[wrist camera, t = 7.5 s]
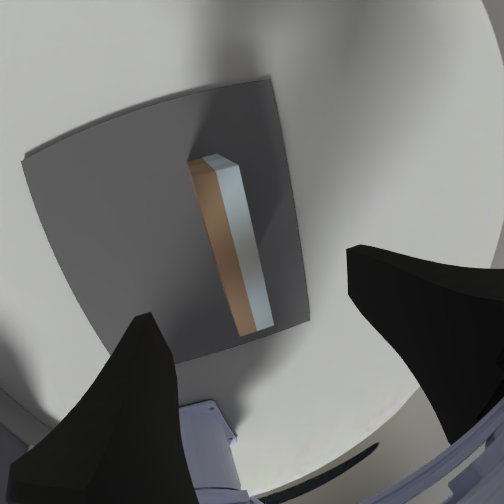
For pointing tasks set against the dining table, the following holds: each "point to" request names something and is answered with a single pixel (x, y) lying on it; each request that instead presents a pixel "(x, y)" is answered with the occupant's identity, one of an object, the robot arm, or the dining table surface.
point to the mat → (169, 217)
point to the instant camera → (16, 436)
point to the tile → (232, 240)
